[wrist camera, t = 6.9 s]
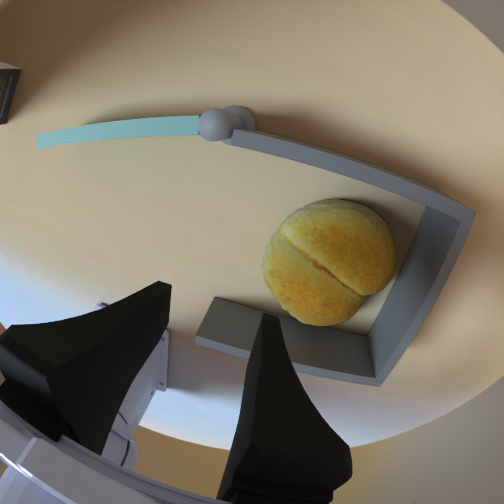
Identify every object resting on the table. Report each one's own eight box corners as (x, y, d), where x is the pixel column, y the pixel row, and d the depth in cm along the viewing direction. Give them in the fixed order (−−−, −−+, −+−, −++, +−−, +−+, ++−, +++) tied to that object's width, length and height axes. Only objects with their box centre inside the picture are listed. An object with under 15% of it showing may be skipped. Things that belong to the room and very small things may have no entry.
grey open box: (370, 345, 22) (379, 386, 18) (186, 296, 23) (162, 332, 19) (447, 175, 16) (483, 190, 12) (220, 103, 17) (194, 95, 13)
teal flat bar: (246, 113, 17) (230, 109, 13) (245, 138, 17) (229, 141, 13) (71, 125, 18) (32, 130, 14) (72, 144, 19) (33, 153, 15)
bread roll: (409, 247, 19) (429, 273, 15) (324, 323, 23) (326, 358, 19) (329, 166, 18) (337, 176, 14) (243, 260, 21) (232, 288, 18)
